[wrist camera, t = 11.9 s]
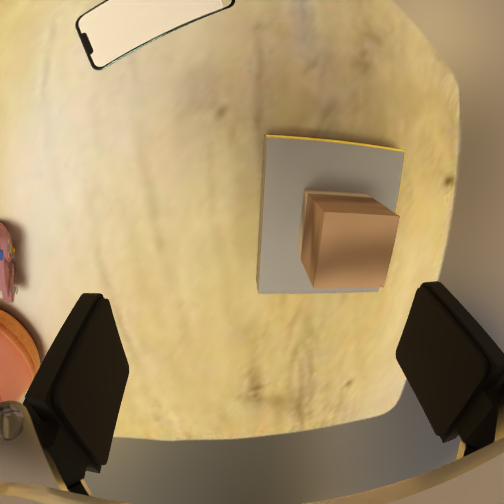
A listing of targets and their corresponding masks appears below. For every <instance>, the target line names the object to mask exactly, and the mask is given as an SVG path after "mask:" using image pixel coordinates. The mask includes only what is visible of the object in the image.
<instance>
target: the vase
mask: <svg viewBox="0 0 504 504" xmlns="http://www.w3.org/2000/svg"><path fill="white" fill-rule="evenodd" d="M39 367H40V358H39V353H38V350H37V347H36V345H35V343H34V341H33V339H32V338H31V336H30V335H29V333H28V332H27V331H26V329H25V328H24V327H23V326H22V325H21V324H20V323H19V322H18V321H17V320H16V319H15V318H14V317H12V316H11V315H10V314H8V313H6V312H5V311H3V310H0V403H1V402H4V401H8V400H10V401H17V402H19V400H20V399H21V398H22V397H23V395H24V394H25V393H26V391H27V390H28V389H29V387H30V385H31V383H32V381H33V379H34V377H35V375H36V373H37V371H38V369H39Z"/></svg>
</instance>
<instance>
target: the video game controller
mask: <svg viewBox="0 0 504 504" xmlns="http://www.w3.org/2000/svg"><path fill="white" fill-rule="evenodd" d="M13 253H15V247H13V241H11V236H10V234H9V233H8V231H7V229H6V227H5V226H4V225H3V224H2V223H1V222H0V300H2V301H4V302H13V301H14V294H15V291H16V294H17V293H18V286H17V285H16V287H15V285H14V275H15V267H14V263H9V262H10V259H12V258H13Z"/></svg>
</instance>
